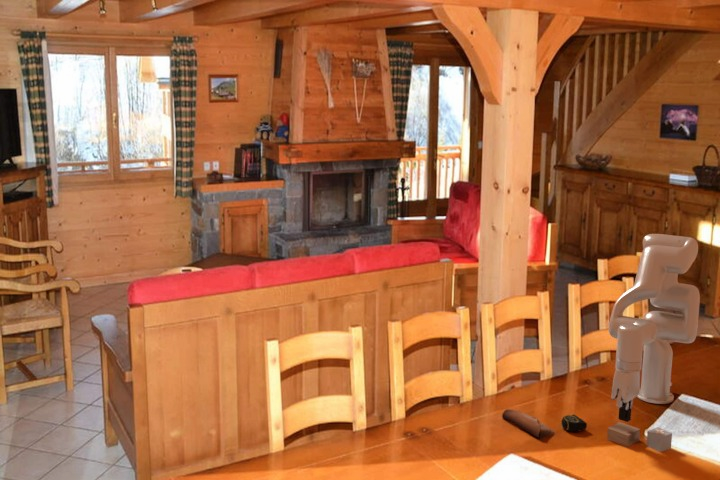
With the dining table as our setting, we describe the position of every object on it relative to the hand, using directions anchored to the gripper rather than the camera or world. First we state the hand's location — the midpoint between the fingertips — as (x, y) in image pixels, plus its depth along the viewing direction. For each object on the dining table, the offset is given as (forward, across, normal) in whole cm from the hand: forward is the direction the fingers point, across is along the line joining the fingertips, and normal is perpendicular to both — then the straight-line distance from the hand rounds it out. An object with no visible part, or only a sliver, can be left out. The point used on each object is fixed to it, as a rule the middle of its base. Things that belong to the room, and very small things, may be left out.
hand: (624, 419), depth 236 cm
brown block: (+7, 0, 0) cm, 7 cm away
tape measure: (+7, +3, -15) cm, 17 cm away
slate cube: (+7, -3, +10) cm, 13 cm away
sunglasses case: (+8, +12, -26) cm, 30 cm away
